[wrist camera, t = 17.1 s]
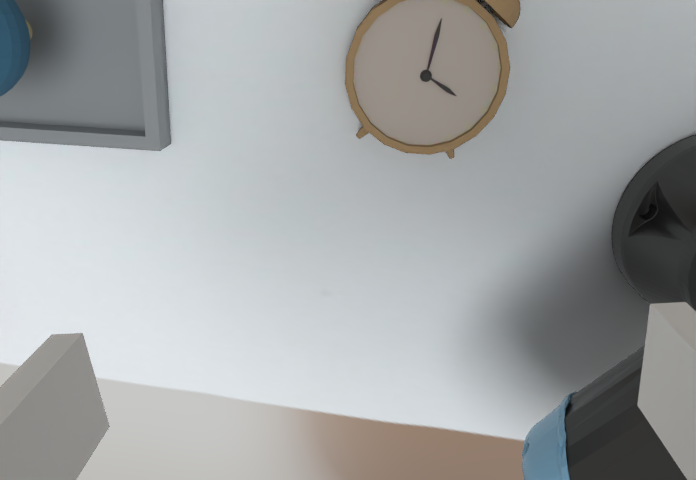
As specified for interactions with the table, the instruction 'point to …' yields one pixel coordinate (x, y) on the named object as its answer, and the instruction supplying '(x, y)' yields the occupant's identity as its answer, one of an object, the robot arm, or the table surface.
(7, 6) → the light bulb
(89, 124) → the tray
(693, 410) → the robot arm
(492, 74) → the alarm clock
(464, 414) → the table surface
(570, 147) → the table surface
